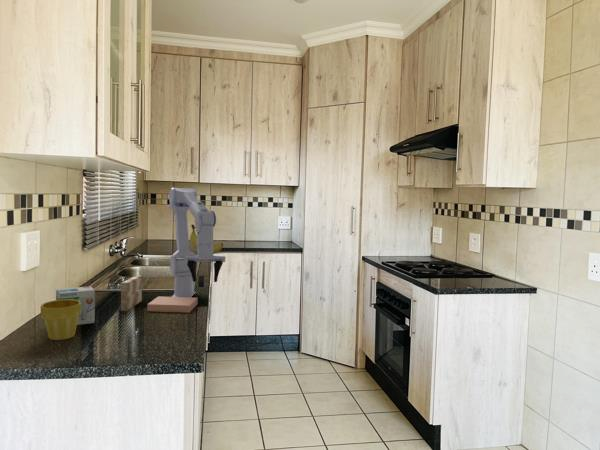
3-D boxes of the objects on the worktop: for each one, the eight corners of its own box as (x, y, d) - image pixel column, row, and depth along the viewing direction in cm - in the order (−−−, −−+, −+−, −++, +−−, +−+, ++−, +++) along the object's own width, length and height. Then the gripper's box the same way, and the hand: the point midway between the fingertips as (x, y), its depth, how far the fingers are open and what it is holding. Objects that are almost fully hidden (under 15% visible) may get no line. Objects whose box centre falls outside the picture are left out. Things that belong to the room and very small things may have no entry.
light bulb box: (58, 327, 137) (58, 293, 137) (55, 322, 143) (54, 288, 142) (95, 322, 144) (95, 289, 143) (91, 317, 149) (91, 285, 148)
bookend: (136, 300, 173) (136, 275, 172) (141, 300, 173) (141, 275, 172) (120, 310, 158) (121, 282, 157) (126, 311, 158) (126, 283, 157)
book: (158, 304, 171) (158, 296, 171) (197, 305, 171) (197, 297, 171) (147, 312, 159) (147, 304, 159) (189, 313, 159) (189, 305, 159)
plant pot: (35, 343, 123) (35, 308, 122) (47, 331, 133) (47, 299, 132) (76, 341, 125) (76, 307, 125) (85, 330, 135) (85, 298, 135)
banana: (222, 252, 316) (223, 224, 314) (223, 253, 310) (223, 225, 309) (189, 252, 310) (189, 224, 308) (189, 254, 304) (190, 224, 303)
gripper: (182, 245, 159) (182, 283, 160) (223, 245, 159) (223, 283, 159) (187, 243, 166) (187, 279, 167) (226, 243, 166) (226, 280, 166)
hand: (205, 281), depth 163 cm, fingers open, 7 cm apart
